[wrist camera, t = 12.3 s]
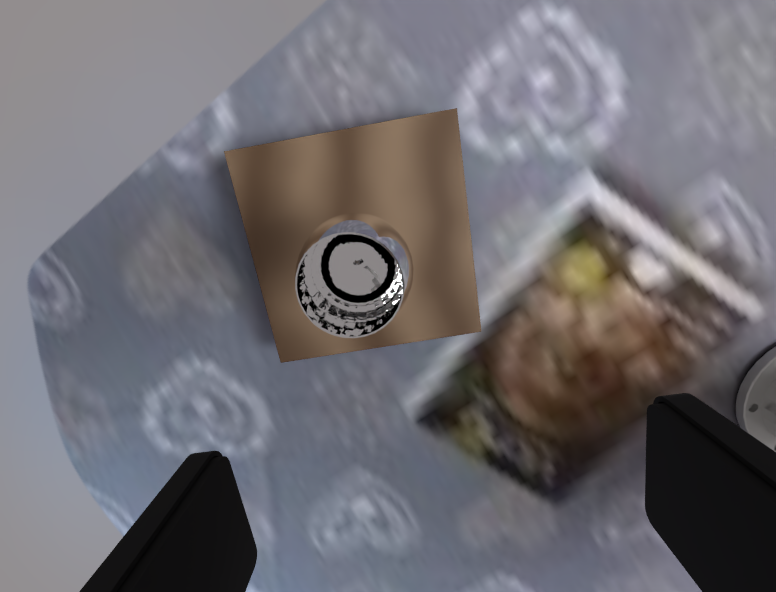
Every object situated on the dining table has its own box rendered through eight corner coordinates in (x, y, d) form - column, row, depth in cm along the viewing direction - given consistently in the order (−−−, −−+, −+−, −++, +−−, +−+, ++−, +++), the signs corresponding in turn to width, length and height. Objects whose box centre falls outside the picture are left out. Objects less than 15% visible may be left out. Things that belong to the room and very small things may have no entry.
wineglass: (422, 248, 27) (446, 290, 16) (365, 299, 29) (348, 374, 17) (367, 188, 26) (350, 186, 15) (311, 244, 27) (252, 283, 16)
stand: (446, 120, 29) (456, 108, 25) (469, 313, 34) (481, 331, 29) (247, 157, 30) (224, 151, 26) (294, 340, 34) (280, 362, 30)
